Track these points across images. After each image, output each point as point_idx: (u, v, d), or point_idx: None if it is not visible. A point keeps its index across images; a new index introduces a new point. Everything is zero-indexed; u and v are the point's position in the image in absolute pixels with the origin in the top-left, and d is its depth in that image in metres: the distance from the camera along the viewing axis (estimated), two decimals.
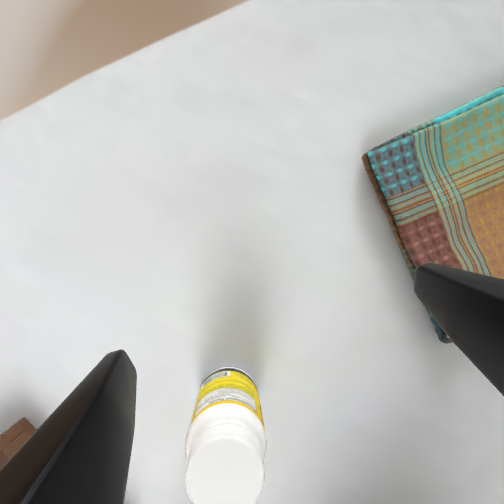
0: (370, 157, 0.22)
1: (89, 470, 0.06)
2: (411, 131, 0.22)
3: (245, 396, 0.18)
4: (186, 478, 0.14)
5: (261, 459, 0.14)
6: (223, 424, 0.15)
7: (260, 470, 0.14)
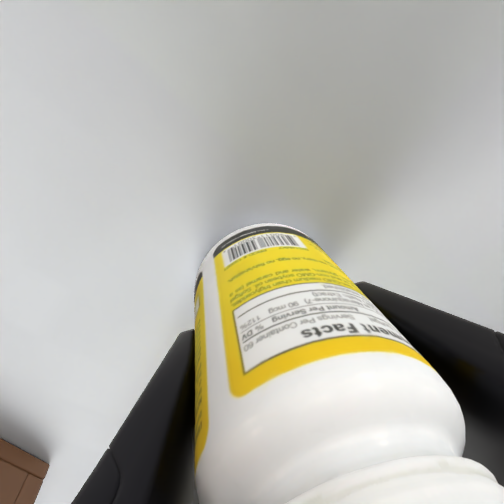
0: None
1: (190, 439, 0.06)
2: None
3: (384, 317, 0.06)
4: None
5: None
6: (446, 485, 0.03)
7: None
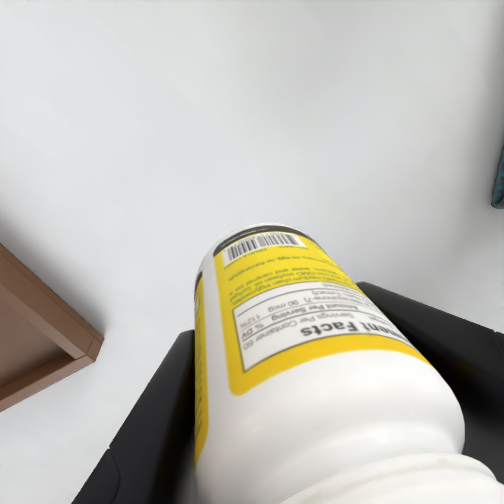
0: None
1: (190, 439, 0.06)
2: None
3: (384, 315, 0.06)
4: None
5: None
6: (446, 483, 0.03)
7: None
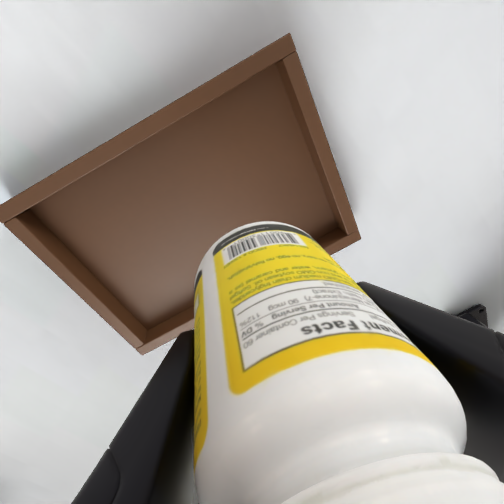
0: None
1: (190, 439, 0.06)
2: None
3: (385, 314, 0.06)
4: None
5: None
6: (448, 484, 0.03)
7: None
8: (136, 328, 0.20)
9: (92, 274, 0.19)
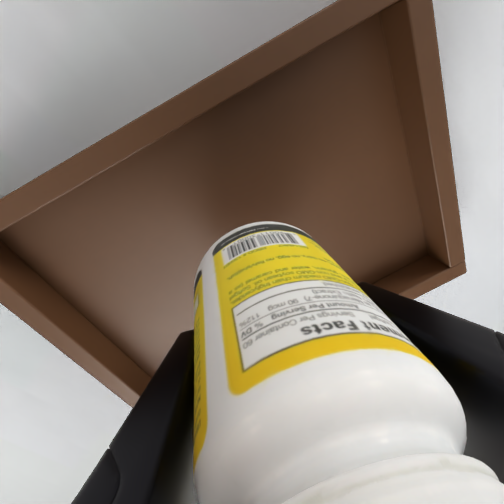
0: None
1: (190, 439, 0.06)
2: None
3: None
4: None
5: None
6: (449, 484, 0.03)
7: None
8: None
9: (90, 323, 0.13)
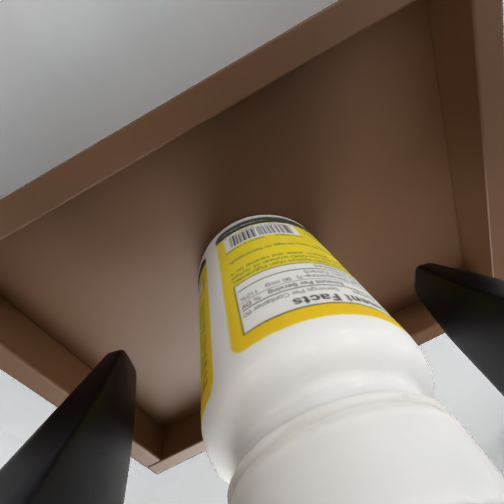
0: None
1: (89, 470, 0.06)
2: None
3: None
4: None
5: None
6: (405, 409, 0.04)
7: None
8: (148, 435, 0.13)
9: (78, 359, 0.11)
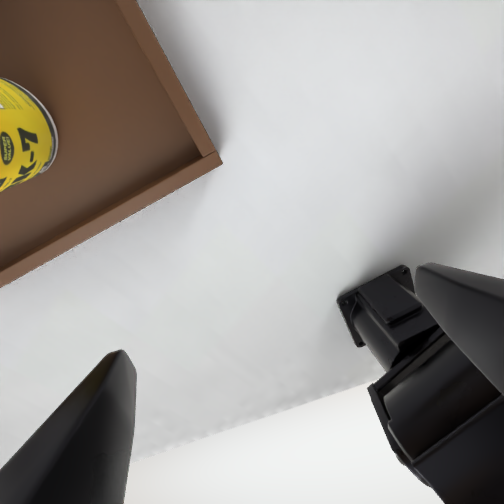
0: None
1: (89, 470, 0.06)
2: None
3: None
4: None
5: None
6: None
7: None
8: None
9: None
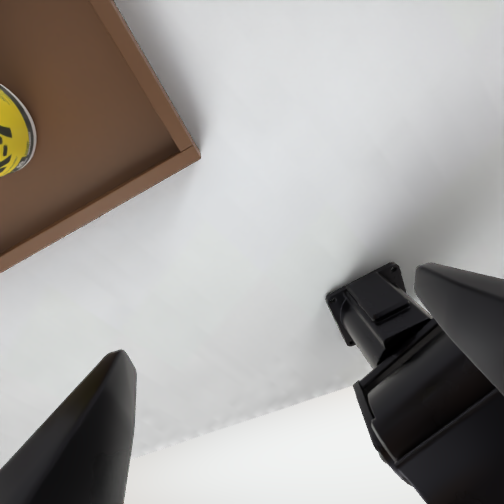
0: None
1: (89, 470, 0.06)
2: None
3: None
4: None
5: None
6: None
7: None
8: None
9: None
